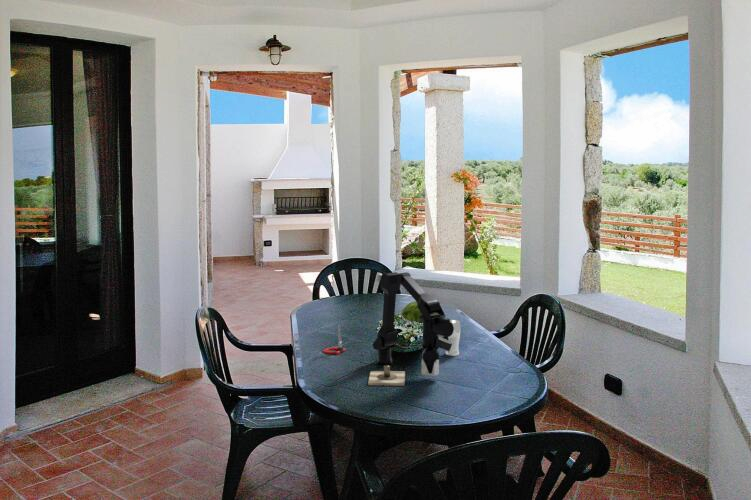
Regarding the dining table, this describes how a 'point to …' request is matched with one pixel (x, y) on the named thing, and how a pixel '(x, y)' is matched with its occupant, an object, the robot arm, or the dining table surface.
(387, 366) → the bronze post
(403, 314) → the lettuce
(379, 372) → the birch base board
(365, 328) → the dining table surface
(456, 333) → the beer glass
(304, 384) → the dining table surface
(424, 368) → the aluminium ring
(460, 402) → the dining table surface
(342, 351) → the tow hook
